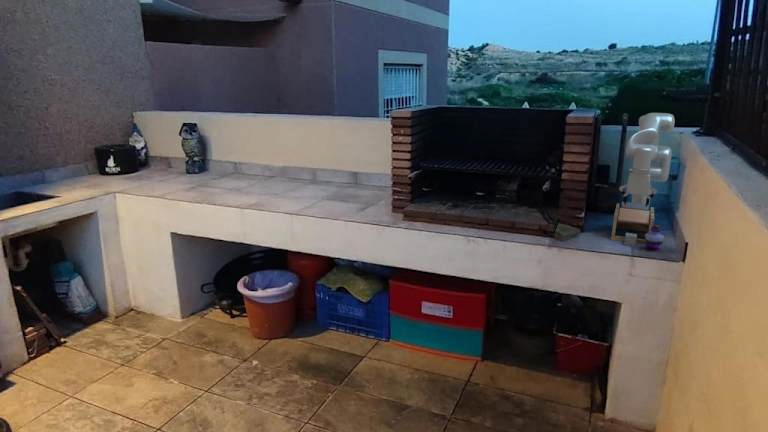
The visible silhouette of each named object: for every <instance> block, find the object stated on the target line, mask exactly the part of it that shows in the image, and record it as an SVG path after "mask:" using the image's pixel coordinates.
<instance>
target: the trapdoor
mask: <svg viewBox="0 0 768 432" xmlns="http://www.w3.org/2000/svg"><path fill="white" fill-rule="evenodd" d="M624 203H625V202H623V201H622V202H621V205H620V207H619V217H618V221H623V222H631V223H639V224H647V225H648V224H649V215H650V210H649V209H650V205H647V207H646V206H645V205H646V204H641V203H632V201H631V202H630V201H626V204H624Z"/></svg>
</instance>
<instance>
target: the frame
mask: <svg viewBox="0 0 768 432" xmlns="http://www.w3.org/2000/svg"><path fill="white" fill-rule="evenodd" d="M620 204H621V203H616V207H615V210H614V215H613V220H612V221H613V223H612V228H611V229H612V230H611V235H610V240H612V241H619V242H625V236H622V235H616V232H617V229H623V230H624V229H626V230H632V231H642V232H646V233H652V231H651V227H653V225H654V222H655V207H650V208H649V209H650V210H649V211H650V214H649V224H648V225H647V224H639V223H631V222H623V221H618V217H619V211H620V207H621V205H620ZM636 244H640V245H646V241H645V238H644V239H642V238H637V239H636Z"/></svg>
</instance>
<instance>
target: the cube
mask: <svg viewBox="0 0 768 432" xmlns="http://www.w3.org/2000/svg"><path fill="white" fill-rule="evenodd" d="M624 237H625V241H624V244H623V245H624V246H630V247H636V244H637V243H636V239H638V234H637V233H631V232H625V235H624Z"/></svg>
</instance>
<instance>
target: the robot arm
mask: <svg viewBox="0 0 768 432" xmlns="http://www.w3.org/2000/svg"><path fill="white" fill-rule="evenodd" d="M675 121H676V120H675V116H674V114H671V113H669V112H668V113H667V112H649V113H647V114H645V115H642V116H640V117H639V118H638V126H639V131H637V132H636V133H633V134H632V135H631V136H630V138H628V141H627V145H626V148H625V156H626V157H627V158H628V159H633V165H632V168H629V170H628V171H629V172H630V174H629V176H628V179H627V183H626V184H624V185H621V186H619V187H618V189H619V192H620V193H621V195H622V196H623V200H622V202H625V203H624V204H626V202H627V199H628V195H632V197H631V203H641V204H646V205H645V206H646V207H647V205H649V206H650V204H651V199H652V198H654V197H655V195H656V194H657V193H658V190H657V189H655V188H654V187H652V185H651V182H657V183H664V182H666V181H667V180H668V179H669V175H670V169H671V162H672V154H673V151H672V148H671V147H669V146H667V145H666V146H665V145H659V141H660V136H659V132H664V133H670V132H671V131H673V129H674V128H675ZM653 163H657V164H653ZM623 189H626V191H624V190H623Z"/></svg>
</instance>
